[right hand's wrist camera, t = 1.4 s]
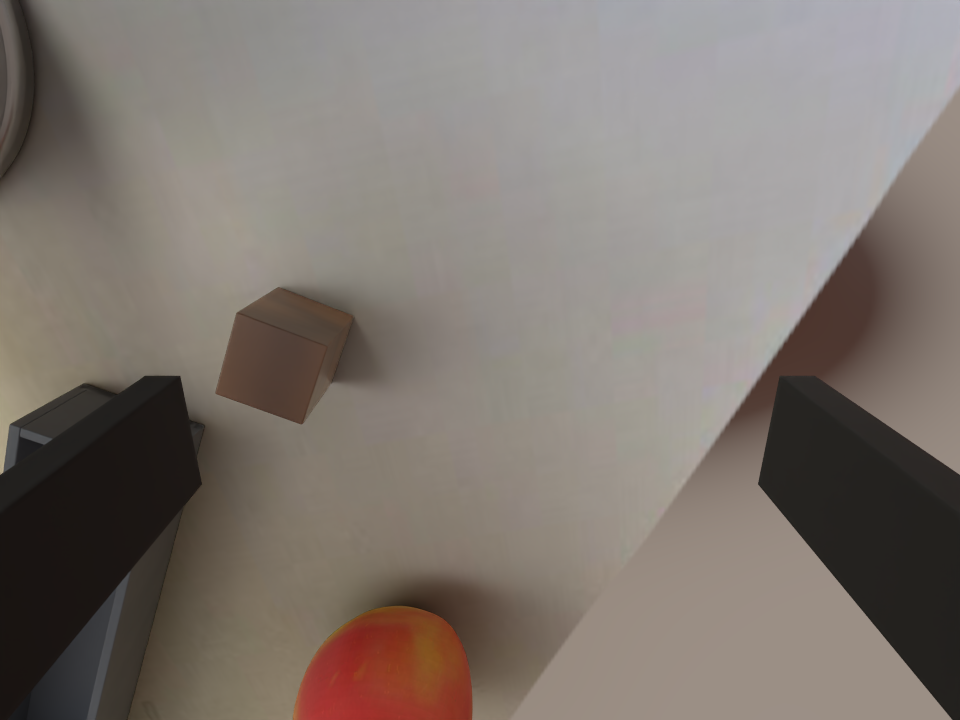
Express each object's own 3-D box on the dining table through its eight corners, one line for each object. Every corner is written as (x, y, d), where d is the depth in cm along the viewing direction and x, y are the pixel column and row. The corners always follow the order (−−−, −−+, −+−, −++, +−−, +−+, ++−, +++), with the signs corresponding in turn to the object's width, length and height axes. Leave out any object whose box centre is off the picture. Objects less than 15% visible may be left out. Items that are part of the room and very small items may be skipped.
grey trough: (21, 731, 39) (-43, 809, 34) (83, 382, 30) (9, 424, 26) (117, 757, 40) (67, 838, 35) (205, 425, 31) (154, 472, 26)
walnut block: (258, 356, 30) (214, 393, 25) (278, 286, 28) (236, 312, 24) (331, 383, 30) (302, 425, 25) (354, 315, 29) (328, 346, 24)
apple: (370, 540, 33) (323, 692, 24) (509, 608, 35) (516, 776, 25) (301, 648, 36) (234, 822, 27) (432, 706, 37) (413, 891, 28)
